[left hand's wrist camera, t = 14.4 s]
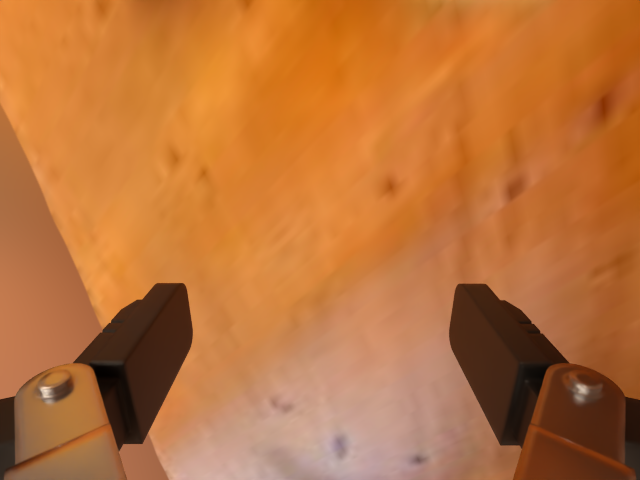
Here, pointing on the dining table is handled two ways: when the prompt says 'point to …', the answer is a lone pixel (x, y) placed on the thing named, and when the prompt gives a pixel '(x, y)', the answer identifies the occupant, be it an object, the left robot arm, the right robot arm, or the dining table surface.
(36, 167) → the dining table surface
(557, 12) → the dining table surface
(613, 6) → the dining table surface
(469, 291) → the left robot arm
